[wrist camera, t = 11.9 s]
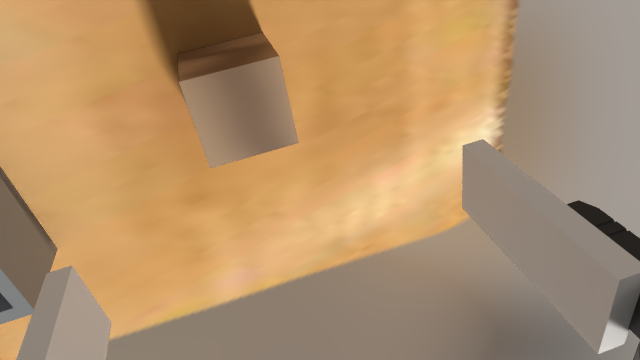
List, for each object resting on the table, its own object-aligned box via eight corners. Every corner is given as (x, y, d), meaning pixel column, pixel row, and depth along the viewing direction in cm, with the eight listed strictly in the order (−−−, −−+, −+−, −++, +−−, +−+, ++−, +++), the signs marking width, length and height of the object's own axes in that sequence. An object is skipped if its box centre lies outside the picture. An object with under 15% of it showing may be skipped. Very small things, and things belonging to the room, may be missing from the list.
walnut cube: (204, 129, 28) (210, 168, 24) (177, 53, 26) (178, 82, 21) (280, 108, 29) (298, 142, 25) (262, 31, 26) (279, 55, 22)
